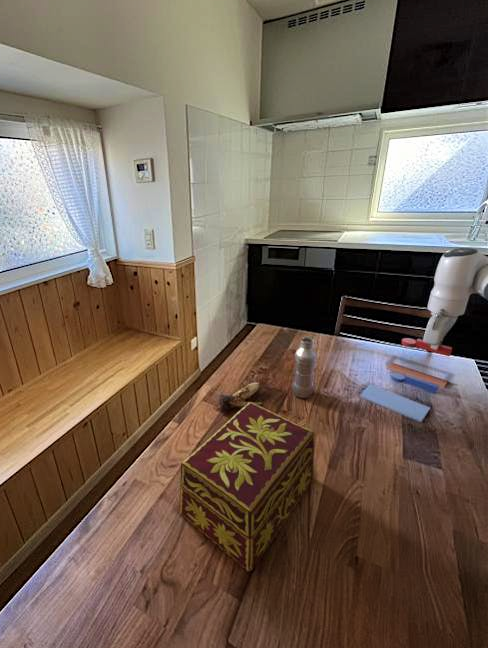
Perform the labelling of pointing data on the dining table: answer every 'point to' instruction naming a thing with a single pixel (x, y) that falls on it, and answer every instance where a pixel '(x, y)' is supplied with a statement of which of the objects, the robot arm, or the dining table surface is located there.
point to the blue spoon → (415, 382)
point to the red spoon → (426, 346)
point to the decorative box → (247, 481)
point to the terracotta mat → (417, 374)
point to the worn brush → (238, 398)
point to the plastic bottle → (304, 368)
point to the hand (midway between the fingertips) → (435, 346)
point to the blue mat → (395, 403)
